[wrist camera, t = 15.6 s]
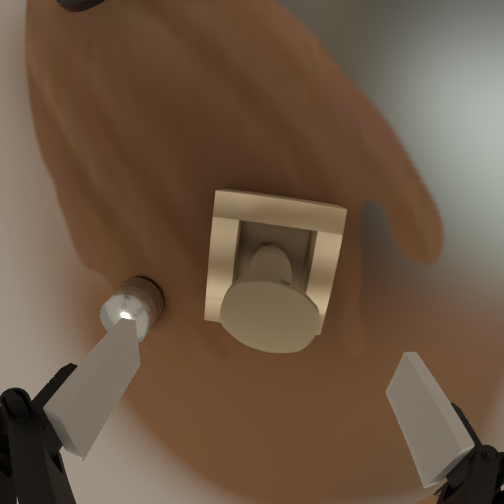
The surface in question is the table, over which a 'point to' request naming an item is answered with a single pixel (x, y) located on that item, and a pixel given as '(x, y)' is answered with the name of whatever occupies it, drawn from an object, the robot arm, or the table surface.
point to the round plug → (133, 306)
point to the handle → (269, 306)
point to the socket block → (273, 231)
